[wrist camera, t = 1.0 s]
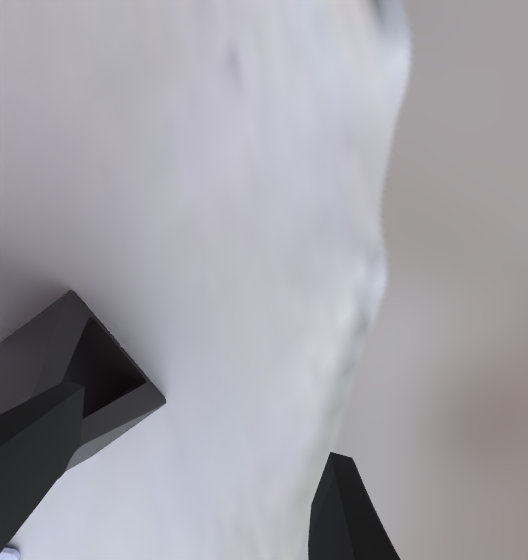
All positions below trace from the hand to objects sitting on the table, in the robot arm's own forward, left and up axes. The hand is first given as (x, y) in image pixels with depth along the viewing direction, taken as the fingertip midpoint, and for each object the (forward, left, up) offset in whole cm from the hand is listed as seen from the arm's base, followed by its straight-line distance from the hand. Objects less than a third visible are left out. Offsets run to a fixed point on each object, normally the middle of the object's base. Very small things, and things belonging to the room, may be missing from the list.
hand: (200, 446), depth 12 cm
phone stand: (-6, +8, -14) cm, 17 cm away
